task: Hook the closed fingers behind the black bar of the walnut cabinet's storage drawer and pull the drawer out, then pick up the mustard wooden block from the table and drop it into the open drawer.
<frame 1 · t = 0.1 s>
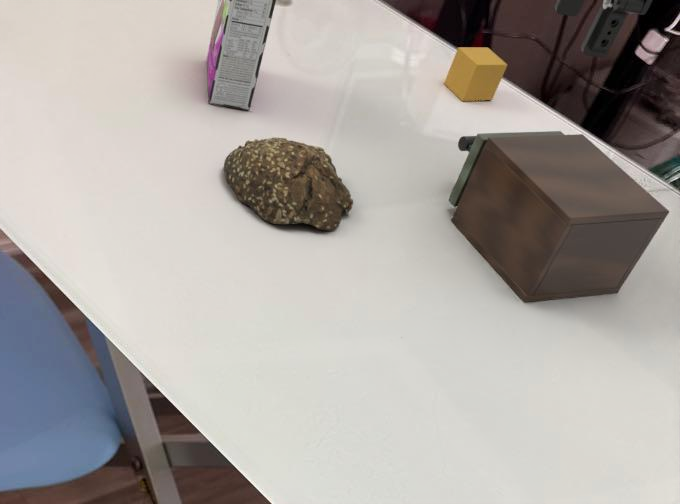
hand: (578, 33, 87), 18 cm above the table, tool pointing down, fingers open, 8 cm apart
candy bar box: (225, 86, 110), on the table
block: (467, 92, 119), on the table
drawer: (525, 188, 96), point 4 cm above the table, slide at 1.0 cm
cabinet: (532, 256, 97), on the table
bread roll: (288, 198, 97), on the table
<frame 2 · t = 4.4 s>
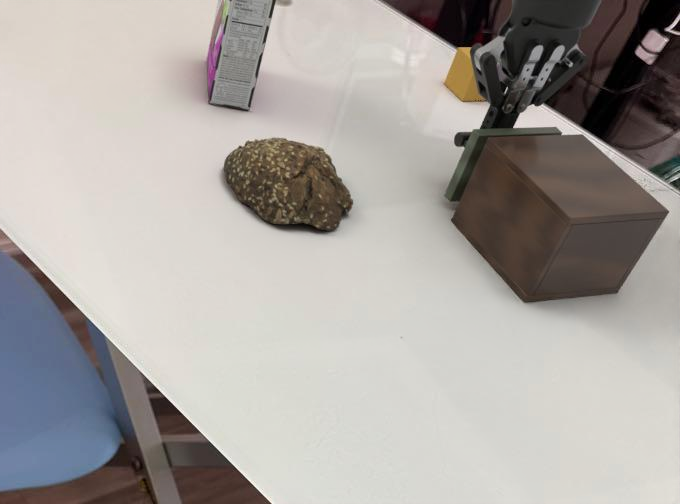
hand: (489, 142, 100), 5 cm above the table, tool pointing down, fingers closed
drawer: (521, 183, 97), point 4 cm above the table, slide at 1.8 cm, touching gripper
everything else where it was.
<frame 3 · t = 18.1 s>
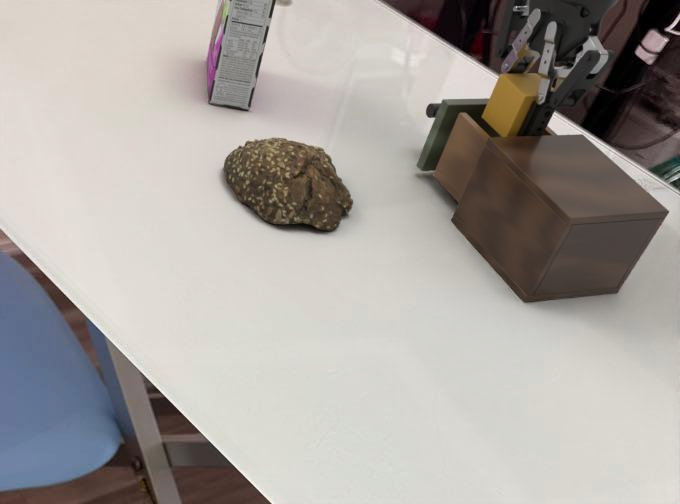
hand: (512, 125, 97), 8 cm above the table, tool pointing down, fingers closed on block, 4 cm apart
block: (510, 128, 97), point 8 cm above the table, touching gripper
drawer: (490, 152, 100), point 4 cm above the table, slide at 7.6 cm
everything else where it was.
when the fingers open (10 cm above the table, at t = 31.1 s): block drops 8 cm, resting on drawer.
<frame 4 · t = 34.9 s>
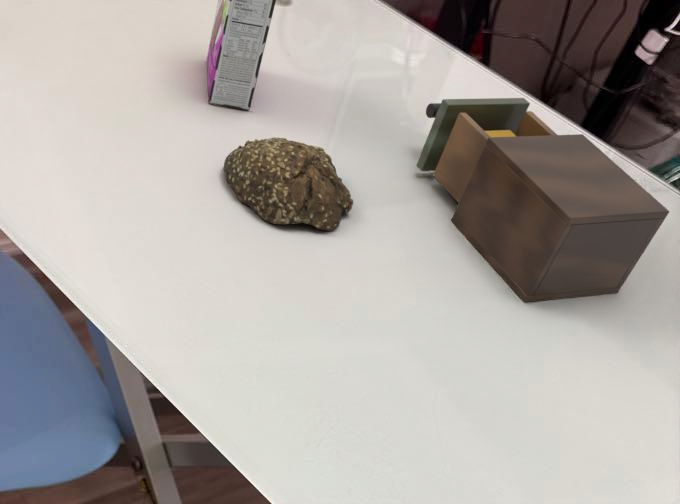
block: (485, 181, 101), point 2 cm above the table, touching drawer
drawer: (490, 152, 100), point 4 cm above the table, slide at 7.6 cm, touching block
everything else where it was.
at the end: drawer slide at 7.6 cm; block inside the target area in the drawer (0.6 cm from its centre), point 1.9 cm above the cabinet's base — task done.
